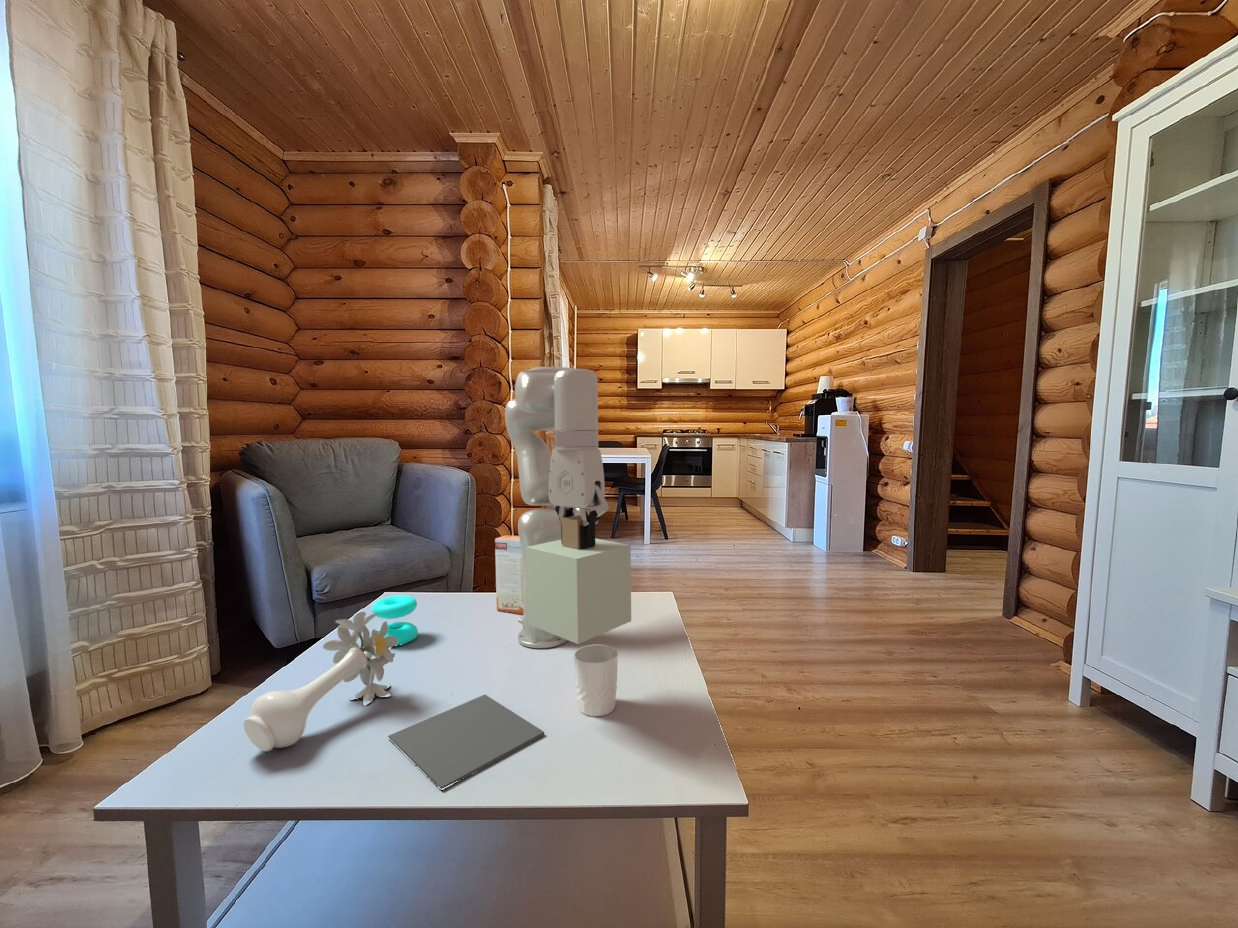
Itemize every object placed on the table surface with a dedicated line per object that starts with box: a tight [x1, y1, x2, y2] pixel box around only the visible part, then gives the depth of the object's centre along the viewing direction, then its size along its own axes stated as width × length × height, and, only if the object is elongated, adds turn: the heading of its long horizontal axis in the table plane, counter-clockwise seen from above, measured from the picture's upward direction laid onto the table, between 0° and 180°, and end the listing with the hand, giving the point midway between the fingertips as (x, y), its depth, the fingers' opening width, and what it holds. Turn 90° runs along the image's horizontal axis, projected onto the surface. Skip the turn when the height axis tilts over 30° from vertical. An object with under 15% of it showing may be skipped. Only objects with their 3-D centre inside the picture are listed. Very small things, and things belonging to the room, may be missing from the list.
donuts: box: [371, 594, 419, 645], centre depth 124 cm, size 10×10×10 cm
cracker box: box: [494, 535, 524, 616], centre depth 143 cm, size 14×6×21 cm, turn 65°
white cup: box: [573, 643, 619, 717], centre depth 93 cm, size 8×8×10 cm
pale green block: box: [526, 515, 632, 645], centre depth 90 cm, size 13×13×19 cm
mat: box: [387, 694, 545, 789], centre depth 84 cm, size 18×18×1 cm
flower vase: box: [243, 611, 398, 752], centre depth 90 cm, size 13×18×25 cm
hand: (578, 544), depth 90 cm, fingers closed on pale green block, 4 cm apart
